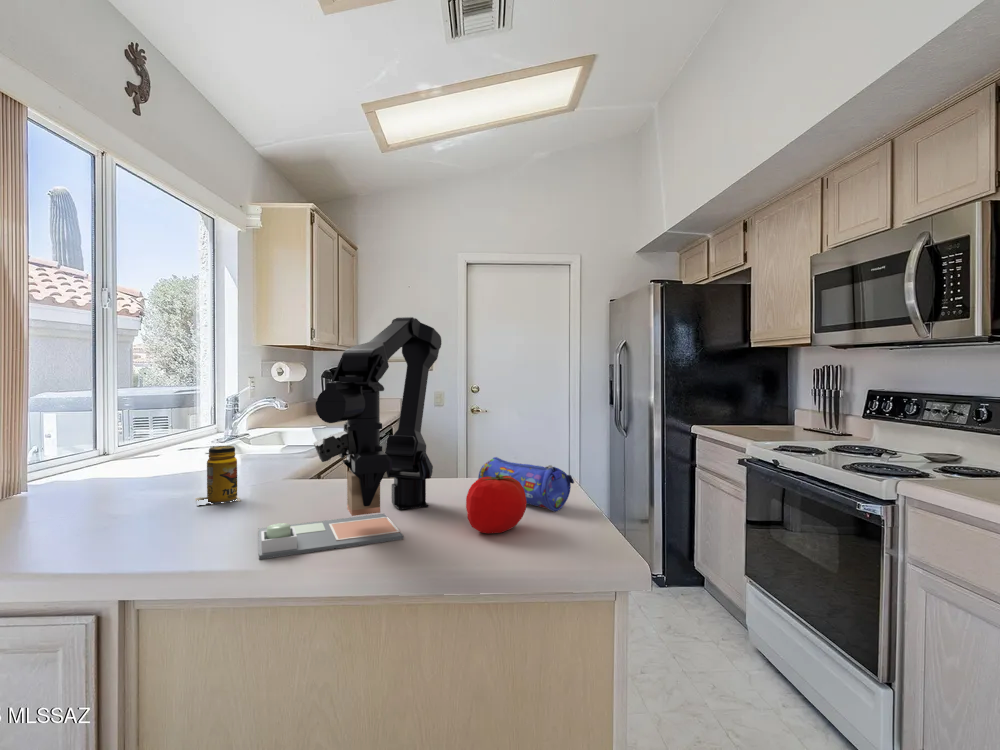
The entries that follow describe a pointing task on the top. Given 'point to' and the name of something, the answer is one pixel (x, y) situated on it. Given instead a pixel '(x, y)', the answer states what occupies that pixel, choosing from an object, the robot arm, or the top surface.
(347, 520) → the picture board
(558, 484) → the pencil case
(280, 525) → the button
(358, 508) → the stamp
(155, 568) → the top surface
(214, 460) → the condiment
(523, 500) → the tomato
